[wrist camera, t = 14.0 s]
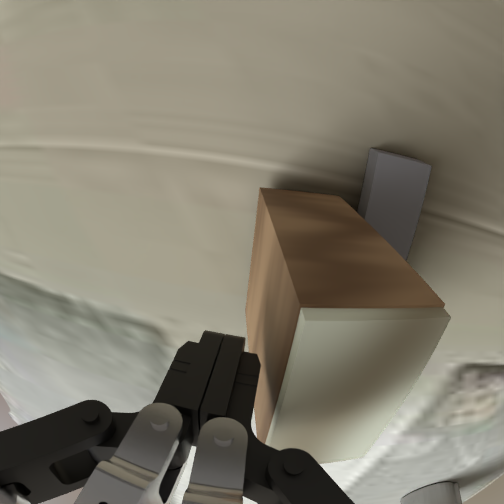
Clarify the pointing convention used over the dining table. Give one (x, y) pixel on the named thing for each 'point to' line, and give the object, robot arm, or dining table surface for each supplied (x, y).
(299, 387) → the walnut slab
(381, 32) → the dining table surface
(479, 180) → the dining table surface
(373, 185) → the rail
